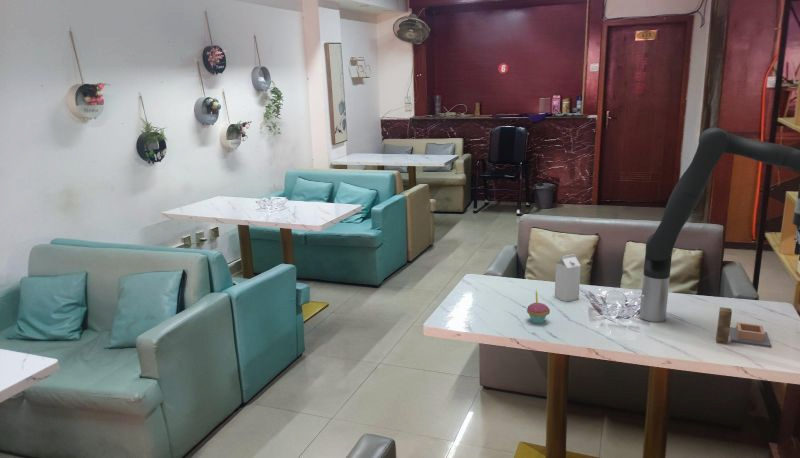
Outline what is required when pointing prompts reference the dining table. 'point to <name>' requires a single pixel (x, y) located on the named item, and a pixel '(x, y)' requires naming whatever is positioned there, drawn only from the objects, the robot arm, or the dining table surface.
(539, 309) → the cupcake
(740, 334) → the square peg socket
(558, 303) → the dining table surface
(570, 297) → the milk carton
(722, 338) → the wooden square peg
